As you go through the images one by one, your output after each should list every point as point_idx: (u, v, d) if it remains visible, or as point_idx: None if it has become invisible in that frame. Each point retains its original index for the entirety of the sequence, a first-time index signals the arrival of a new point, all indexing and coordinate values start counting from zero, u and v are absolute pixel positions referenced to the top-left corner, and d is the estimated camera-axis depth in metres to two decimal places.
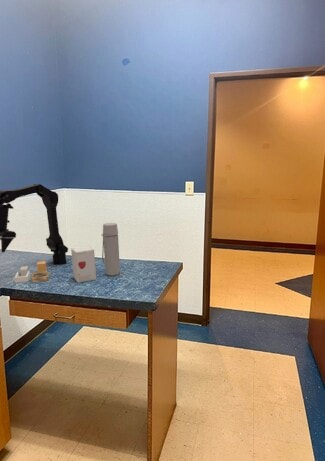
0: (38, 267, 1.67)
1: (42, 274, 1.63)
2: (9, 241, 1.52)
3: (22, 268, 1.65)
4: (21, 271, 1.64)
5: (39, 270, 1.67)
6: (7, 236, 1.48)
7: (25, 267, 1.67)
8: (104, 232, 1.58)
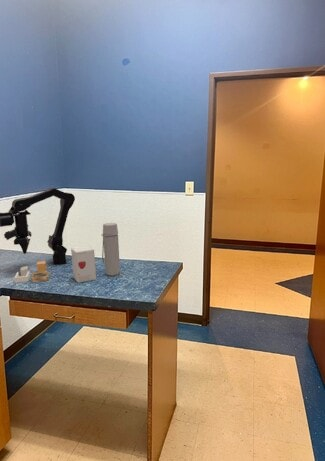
0: (38, 267, 1.67)
1: (42, 274, 1.63)
2: (26, 244, 1.70)
3: (22, 268, 1.65)
4: (21, 271, 1.64)
5: (39, 270, 1.67)
6: (18, 243, 1.61)
7: (25, 267, 1.67)
8: (104, 232, 1.58)
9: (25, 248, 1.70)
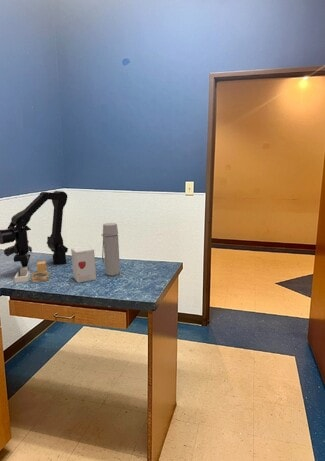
0: (38, 267, 1.67)
1: (42, 274, 1.63)
2: (26, 260, 1.67)
3: (22, 268, 1.64)
4: (21, 271, 1.63)
5: (39, 270, 1.67)
6: (17, 260, 1.58)
7: (25, 267, 1.66)
8: (104, 232, 1.58)
9: (25, 264, 1.68)
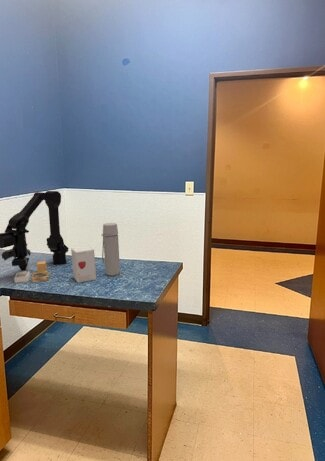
0: (38, 267, 1.67)
1: (42, 274, 1.63)
2: (25, 264, 1.61)
3: (20, 272, 1.59)
4: (19, 275, 1.57)
5: (39, 270, 1.67)
6: (16, 264, 1.53)
7: (24, 271, 1.60)
8: (104, 232, 1.58)
9: (24, 268, 1.62)
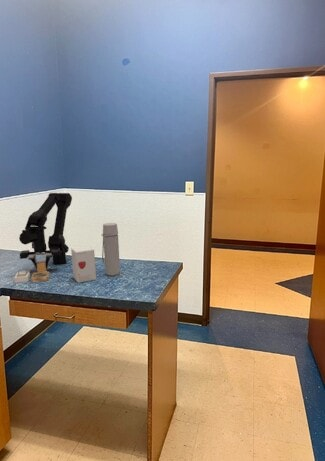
0: (38, 267, 1.67)
1: (42, 274, 1.63)
2: None
3: (20, 273, 1.59)
4: (19, 276, 1.57)
5: (39, 270, 1.67)
6: None
7: (24, 271, 1.60)
8: (104, 232, 1.58)
9: None
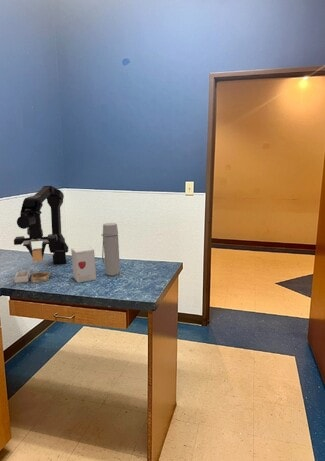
0: (33, 254, 1.55)
1: (42, 274, 1.63)
2: None
3: (20, 273, 1.59)
4: (19, 276, 1.57)
5: (34, 257, 1.55)
6: None
7: (24, 271, 1.60)
8: (104, 232, 1.58)
9: None
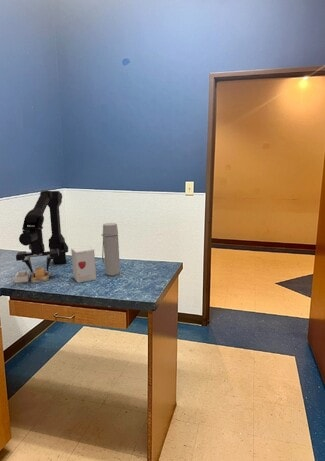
0: (36, 274, 1.57)
1: None
2: None
3: (20, 273, 1.59)
4: (19, 276, 1.57)
5: None
6: None
7: (24, 271, 1.60)
8: (104, 232, 1.58)
9: None
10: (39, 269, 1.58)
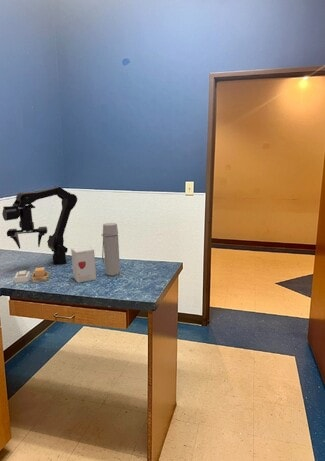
0: (36, 274, 1.57)
1: None
2: None
3: (20, 273, 1.59)
4: (19, 276, 1.57)
5: None
6: None
7: (24, 271, 1.60)
8: (104, 232, 1.58)
9: None
10: (39, 269, 1.58)
